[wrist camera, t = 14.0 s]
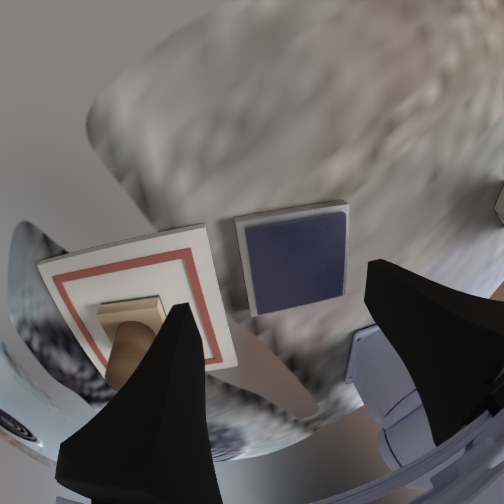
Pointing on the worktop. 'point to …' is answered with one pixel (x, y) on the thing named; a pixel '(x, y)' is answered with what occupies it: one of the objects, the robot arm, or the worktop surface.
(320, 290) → the ink pad
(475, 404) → the robot arm
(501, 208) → the skincare box
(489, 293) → the worktop surface
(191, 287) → the marked board
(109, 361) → the stamp
